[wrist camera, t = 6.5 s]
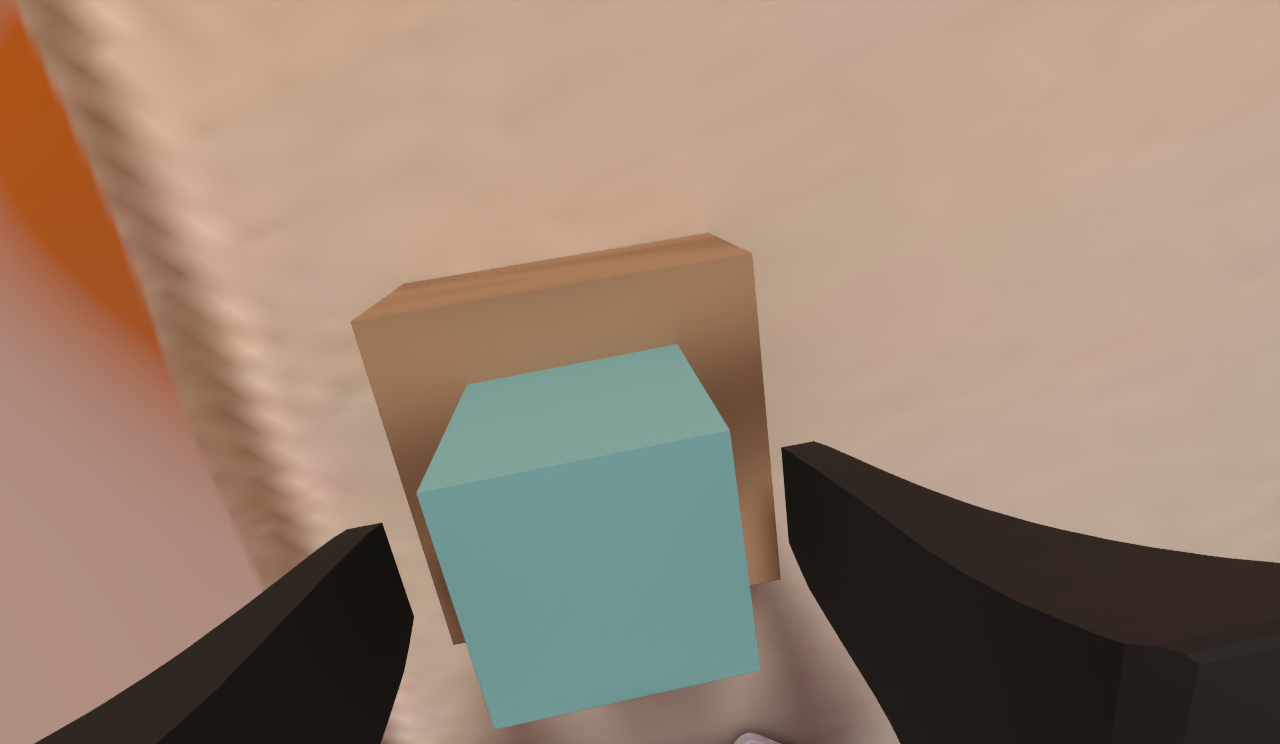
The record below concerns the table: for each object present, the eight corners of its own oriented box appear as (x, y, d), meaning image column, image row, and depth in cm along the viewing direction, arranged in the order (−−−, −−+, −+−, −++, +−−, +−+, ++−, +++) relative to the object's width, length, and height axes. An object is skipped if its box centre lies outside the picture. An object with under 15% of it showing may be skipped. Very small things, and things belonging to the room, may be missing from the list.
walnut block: (737, 495, 19) (780, 579, 15) (477, 545, 18) (453, 645, 14) (709, 233, 16) (752, 253, 12) (403, 284, 16) (350, 321, 12)
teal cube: (704, 523, 14) (761, 670, 10) (517, 562, 14) (494, 730, 10) (677, 344, 13) (729, 430, 9) (467, 384, 12) (416, 492, 8)
